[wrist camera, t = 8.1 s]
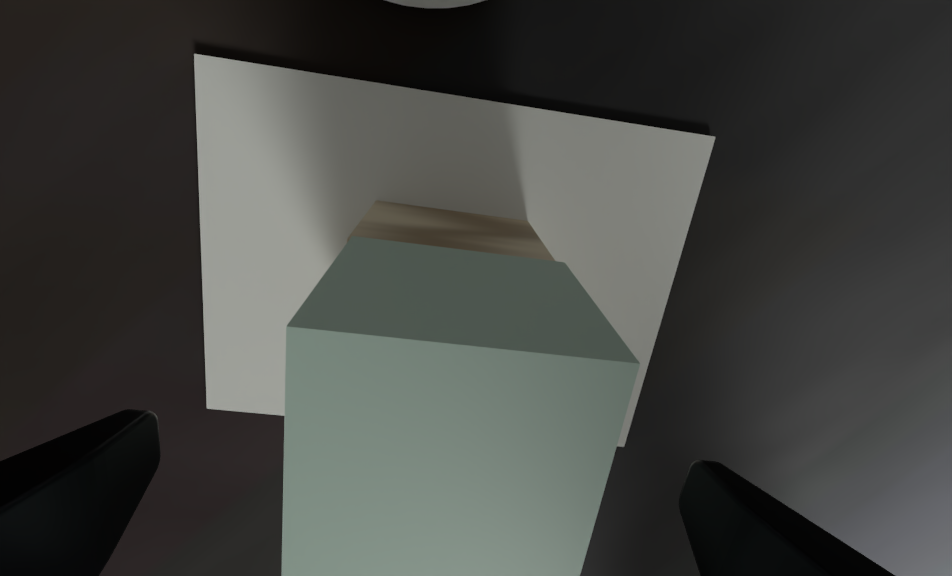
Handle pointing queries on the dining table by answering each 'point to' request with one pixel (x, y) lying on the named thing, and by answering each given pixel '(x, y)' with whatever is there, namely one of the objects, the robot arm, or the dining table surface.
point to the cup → (435, 3)
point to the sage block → (447, 415)
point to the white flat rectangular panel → (415, 201)
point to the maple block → (451, 230)
